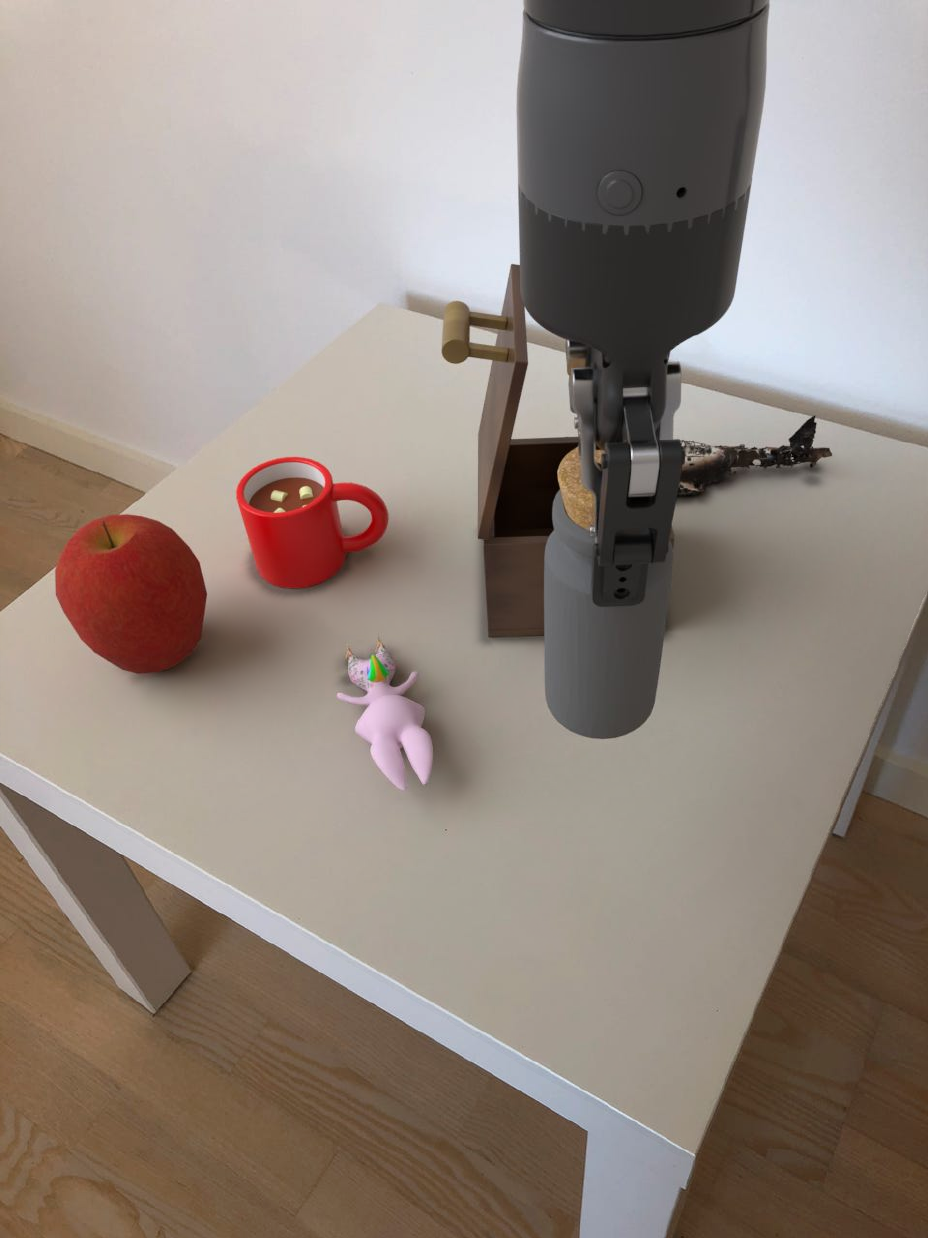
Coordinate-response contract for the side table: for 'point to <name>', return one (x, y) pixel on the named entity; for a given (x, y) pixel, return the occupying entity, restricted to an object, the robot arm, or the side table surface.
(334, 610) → the side table surface
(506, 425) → the lid
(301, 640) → the side table surface
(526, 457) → the chest
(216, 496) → the side table surface
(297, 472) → the mug
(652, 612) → the bottle
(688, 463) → the airplane wreck
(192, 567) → the apple
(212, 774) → the side table surface
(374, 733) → the pink creature figurine
